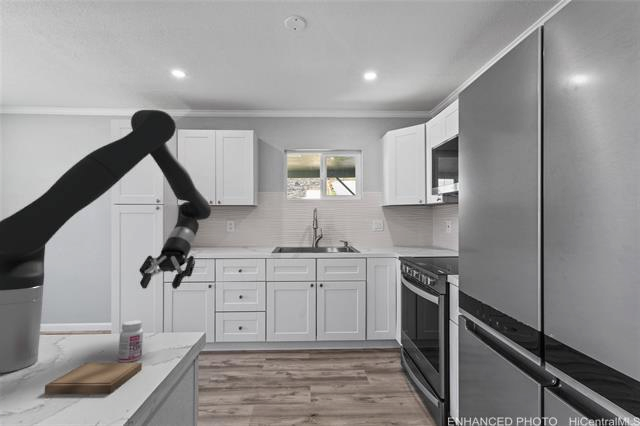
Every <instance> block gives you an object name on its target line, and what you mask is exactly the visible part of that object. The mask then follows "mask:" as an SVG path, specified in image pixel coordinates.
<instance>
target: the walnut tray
mask: <svg viewBox="0 0 640 426" xmlns="http://www.w3.org/2000/svg"><path fill="white" fill-rule="evenodd" d="M142 365H143V363H142V362H84V363H82V364H81V365H79V366H77V367H75V368H74V369H72V370H70V371H69V372H66V373H64V374H63V375H61V376H59V377H57V378H55V379H54V380H53V381H50V382H49V383H47V384H45V385H44V392H43V393H44V395H48V394H49V395H59V394H60V395H63V394H65V395H84V394H85V395H87V394H88V395H90V394H91V395H95V394H96V395H97V394H98V395H102V394H103V395H104V394H106V395H107V394H109V395H110V394H113V393H114V392H116V390H118V389H119V388H120V387H122V385H124V384H125V383H127V382H128V381H129V380H130V379H132V378H133V377H134V376H135V375H136V374H138V373H139V372H140V371H142V368H143V366H142Z"/></svg>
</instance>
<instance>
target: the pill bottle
mask: <svg viewBox="0 0 640 426" xmlns="http://www.w3.org/2000/svg"><path fill="white" fill-rule="evenodd" d="M142 327H143V321H142V320H140V319H134V320H128V321H127V320H126V321H124V322H122V325H121V332H120V333H119V340H118V341H119V342H118V353H117V354H118V355H117V360H118V362H119V363H133V362H136V361H137V360H140V359H141V358H142V355H143V343H144V342H143V340H144V339H143V338H144V330H143V329H142Z"/></svg>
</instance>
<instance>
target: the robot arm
mask: <svg viewBox="0 0 640 426" xmlns="http://www.w3.org/2000/svg"><path fill="white" fill-rule="evenodd" d="M130 125H131V126H130V127H131V129H132V131H130V132H129V133H127V134H126V135H125V136H123V137H121V138H119V139H116V140H115V141H112V142H110V143H108V144H105V145H103V146H101V147H99V148H97V149H95V150H93V151H92V152H90V153H88V154H87V155H85V156H84V157H83V158H81V159H80V160H79V161H77V162H76V163H75V164H74V165H72V166H71V167H70V168H69V169H68V170H67V171H66V172H64V173H63V174H62V175H61V176H60V177H59V178H58V179H57V180H56V181H55V182H54V183H53V184H52V185H51V186H50V187H49V189H47V190H46V192H44V193H43V194H41V195H40V196H39V197H38V198H37V199H35V200H33V201H31V202H30V203H29V204H27V205H26V206H24V207H22V208H21V209H19V210H17V212H14V213H12V214H11V215H9V216H8V217H5V218H4V219H3V218H2V219H1V220H0V374H4V373H10V372H14V371H18V370H21V369H25V368H27V367H30V366H32V365H33V364H35V363H37V362H38V360H39V349H40V348H39V347H40V339H41V337H40V336H41V323H42V311H43V295H44V285H45V284H44V283H45V257H46V256H45V253H46V245H47V244H48V242H49V241H50V240H51V239H52V238H53V237H54V236H55V235H56V233H57V232H58V231H60V229H61V228H62V227H63V226H64V225H65V224H66V223H67V222H68V221H69V220H70V219H72V217H73V216H75V215H76V214H77V213H79V212H80V211H83V210H84V208H86V207H88V206H89V205H91V204H92V203H93V202H95V201H96V200H97V199H99V198H100V197H102V195H104V194H105V193H106V192H108V191H109V190H110V189H111V188H112V187H113V186H115V185H116V184H117V183H118V182H119V181H120V180H121V179H122V178H123V177H124V176H126V175H127V174H128V173H129V172H131V171H132V169H134V168H135V167H136V166H137V165H138V164H139V163H140V162H141V161H143V160H144V159H145V158H146V157H147V156H149V155H150V156H151V157H152V159H153V161H154V162H155V164H157V166H158V167H159V169H160V171H161V173H162V174H163V175H164V177H165V179H166V182H167V183H168V185H169V187H170V189H171V190H172V191H171V192H173V194H174V197H176V199H177V200H179V201H182V203H181V204H180V206H179V207H178V213H177V221H176V223H175V225H174V227H173V229H172V231H171V232H170V234H169V235H168V237H167V239H166V241H165V243H164V244H163V247H161V251H160V254H159V256H157V257H153V256H152V255H148V256H147V257H146V258H145V260H144V261H143V263H142V265H141V266H140V268H139V273H140V274H141V276H142V278H141V280H140V281H139V283H140V287H142V289H147V288H148V286H149V284H150V282H151V280H152V278H153V277H155V276H156V275H159V274H161V273H162V272H164V273H165V272H166V273H167V272H172V273H174V271H176V274H175V275H174V278H173V279H172V280H173V281H172V283H171V287H172V288H173V290H176V289H178V288H179V287H180V286H181V284H182V281H183V279H184V278H186V277H188V278H190V277H192V274H193V271H194V268H195V265H196V260H195V257H194V255H190V256H189V253H190V251H191V249H192V247H193V244H194V241H195V237H196V236H197V233H198V231H199V227H200V226H199V225H200V224H199V222H198V221H201V220H207V219H208V218H209V217H210V216H211V212H212V210H211V205H210V203H209V202H208V200H207V199H206V198H205V197H204V196H203V195H202V193H200V191H199V190H198V189H197V188H196V185H195V183H194V182H193V179H192V177H191V175H190V173H189V172H188V171H187V169H186V167H185V166H184V165H183V163H181V162H180V160H179V159H178V158H177V157H176V156H175V155H174V153H173V152H172V150H171V149H170V147H169V145H168V144H167V142H169V141H170V140H171V139H172V138H173V137H174V134H175V132H176V128H177V127H176V120H175V119H174V117H173V116H172V115H171V114H170V113H168V112H166V111H163V110H158V109H141V110H138V111H136V112H135V113H133V115H132V116H131V119H130ZM183 201H184V202H183ZM188 256H189V257H188ZM185 264H186V266H185V269H184V270H183V269H182V267H183V266H184V265H185ZM158 267H159V268H158Z"/></svg>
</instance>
